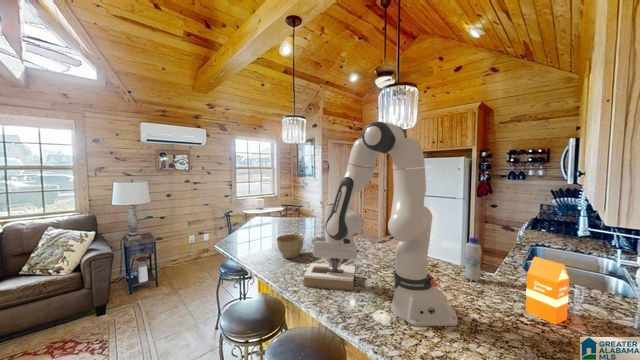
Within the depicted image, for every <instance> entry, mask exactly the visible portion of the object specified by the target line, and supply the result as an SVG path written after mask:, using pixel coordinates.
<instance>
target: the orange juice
mask: <svg viewBox="0 0 640 360" xmlns="http://www.w3.org/2000/svg"><path fill="white" fill-rule="evenodd" d="M526 276H527V277H526V289H525V291H526V292H525V294H526V295H525V296H526V297H525V298H526V299H525V312H528V313H529V314H531V315H533V316H536V317H538V318H540V319H542V320H545V321H547V322H548V323H550V324H553V325H557V324H560V323H562V322H564V321H565V320H567V319H568V305H569V304H568V303H569V287H570V277H569V275H568V272H567V270H566V267H565V264H562V263H559V262H555V261H552V260H548V259H545V258H541V257H538V256H534V257H533V258H532V262H531V263H530V266H529V268H528V270H527V274H526Z"/></svg>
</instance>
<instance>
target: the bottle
mask: <svg viewBox="0 0 640 360" xmlns="http://www.w3.org/2000/svg"><path fill="white" fill-rule="evenodd" d="M464 254H465V264H464V265H465V267H464V276H465V277H464V278H465V279H466V280H469V281H470V282H473V281H474V282H475V283H477V282H480V280H481V259H482V258H481V257H482V246H481V244H479V240H478V238H477V237H469V242H466V243H465V248H464Z"/></svg>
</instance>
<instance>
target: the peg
mask: <svg viewBox="0 0 640 360" xmlns="http://www.w3.org/2000/svg"><path fill="white" fill-rule="evenodd" d="M337 263H338V258H332V269H333V273H338V267H337Z"/></svg>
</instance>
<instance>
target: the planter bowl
mask: <svg viewBox="0 0 640 360" xmlns="http://www.w3.org/2000/svg"><path fill="white" fill-rule="evenodd" d="M304 239H305V238H304V236H303V235H301V234H283V235H280V236H278V237H276V243H277V248H278V250H279V252H280V253H281V255H282V257H283V258H286V259H294V258H298V256H299V254H300V253H301V251H302V248H303V245H304Z"/></svg>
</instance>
